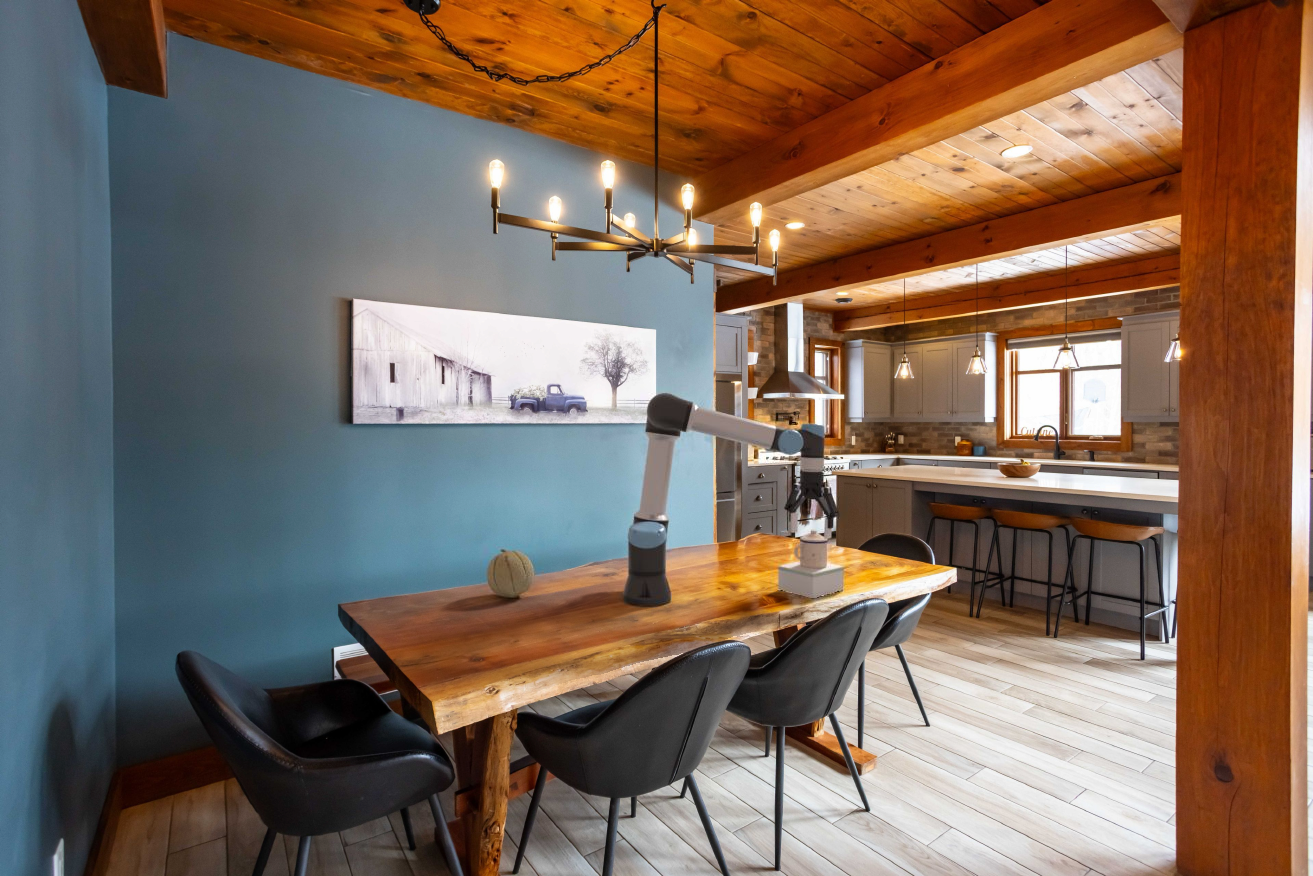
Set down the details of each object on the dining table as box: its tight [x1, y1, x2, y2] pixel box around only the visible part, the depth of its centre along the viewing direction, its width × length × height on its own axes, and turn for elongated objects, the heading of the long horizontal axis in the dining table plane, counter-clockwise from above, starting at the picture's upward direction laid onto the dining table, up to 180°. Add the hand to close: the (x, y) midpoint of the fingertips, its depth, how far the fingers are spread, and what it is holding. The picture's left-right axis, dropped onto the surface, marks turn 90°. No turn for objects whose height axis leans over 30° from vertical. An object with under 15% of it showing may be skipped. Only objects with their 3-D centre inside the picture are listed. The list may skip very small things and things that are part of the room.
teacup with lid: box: [793, 529, 829, 568], centre depth 218 cm, size 12×9×12 cm
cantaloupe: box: [486, 548, 535, 599], centre depth 209 cm, size 15×15×15 cm
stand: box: [777, 560, 845, 599], centre depth 218 cm, size 14×16×8 cm
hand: (810, 535), depth 217 cm, fingers open, 13 cm apart
